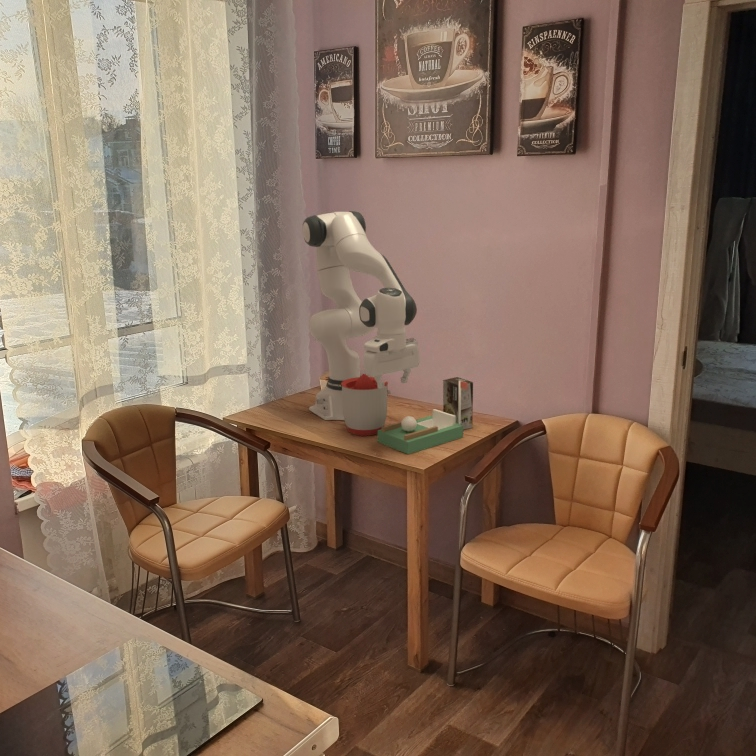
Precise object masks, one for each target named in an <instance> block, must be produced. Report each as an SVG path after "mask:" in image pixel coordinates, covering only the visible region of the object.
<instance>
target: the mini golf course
mask: <svg viewBox="0 0 756 756" xmlns="http://www.w3.org/2000/svg"><path fill="white" fill-rule="evenodd" d="M461 388H463V389H466V390H467V383H466V382H463V381H459V401H458V424H457V423H456V416H455V415H452V414H448V413H445V412H443V410H439V409H435V408H434V409H432V414H431V415H428V416H425V417H420V418H418V419H415V420H416V422H417V426H416V428H415V430H413V431H411V432H407V431H405V430H404V429H403V428H402V426H401V422H402V420H401V421H397V422H394V423H391V424H388V425H386V424H385V425H384V426H383V427H382V429H381V430H377V431H378V434H377V443H378V442H379V444H382V445H384V446H386V447H388V448H391V449H394V450H397V451H399V452H401V453H404V454H407V455H411V454H414V453H417V452H421V451H424V450H427V449H430V448H434V447H436V446H440V445H443V444H446V443H448V442H449V443H450V442H452V441H455V440H459V439H462V438H463V437H464V430H463V425H461Z"/></svg>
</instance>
